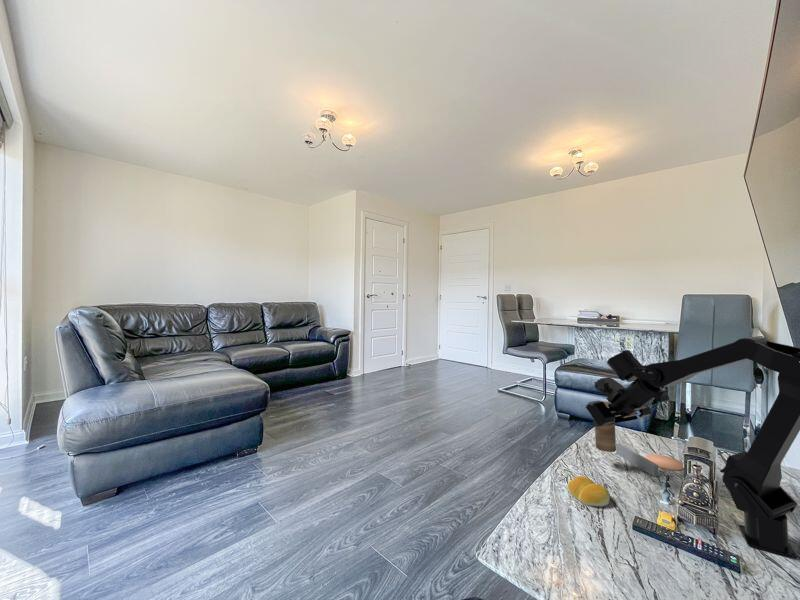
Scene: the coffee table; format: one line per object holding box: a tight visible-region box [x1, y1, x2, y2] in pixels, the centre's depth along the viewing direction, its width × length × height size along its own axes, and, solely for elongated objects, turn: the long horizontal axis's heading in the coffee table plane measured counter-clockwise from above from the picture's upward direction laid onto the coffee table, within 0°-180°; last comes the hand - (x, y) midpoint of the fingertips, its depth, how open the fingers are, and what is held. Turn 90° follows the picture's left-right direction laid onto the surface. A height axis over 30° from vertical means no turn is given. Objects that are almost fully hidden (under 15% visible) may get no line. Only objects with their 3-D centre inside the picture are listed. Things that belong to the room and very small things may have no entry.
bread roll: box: [567, 475, 611, 508], centre depth 81 cm, size 8×9×4 cm
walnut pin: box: [594, 400, 617, 453], centre depth 96 cm, size 5×5×13 cm
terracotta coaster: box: [644, 454, 684, 472], centre depth 96 cm, size 9×9×1 cm
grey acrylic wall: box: [615, 443, 659, 478], centre depth 96 cm, size 14×1×3 cm, turn 4°
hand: (600, 423), depth 97 cm, fingers closed on walnut pin, 5 cm apart
